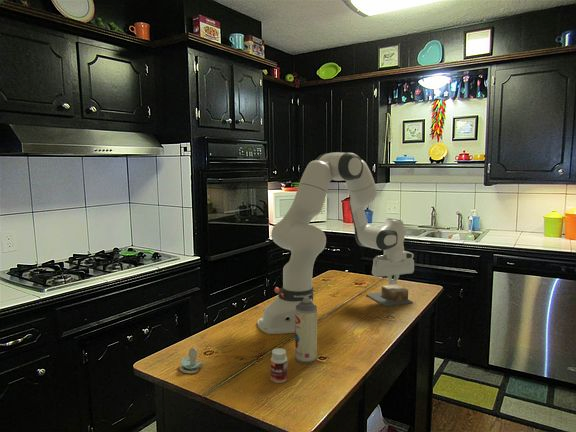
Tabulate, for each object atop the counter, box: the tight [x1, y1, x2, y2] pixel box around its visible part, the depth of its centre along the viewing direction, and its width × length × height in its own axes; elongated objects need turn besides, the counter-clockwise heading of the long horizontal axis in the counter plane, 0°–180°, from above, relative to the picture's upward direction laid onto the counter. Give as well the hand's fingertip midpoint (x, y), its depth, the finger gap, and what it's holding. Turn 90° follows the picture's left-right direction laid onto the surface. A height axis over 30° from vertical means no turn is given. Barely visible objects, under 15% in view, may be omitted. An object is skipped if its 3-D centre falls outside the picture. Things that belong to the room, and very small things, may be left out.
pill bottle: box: [270, 347, 288, 384], centre depth 118 cm, size 5×5×8 cm
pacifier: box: [178, 347, 205, 374], centre depth 124 cm, size 7×6×6 cm
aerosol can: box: [294, 296, 318, 365], centre depth 129 cm, size 7×7×20 cm
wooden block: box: [381, 284, 409, 301], centre depth 188 cm, size 4×9×8 cm
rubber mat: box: [365, 291, 414, 308], centre depth 187 cm, size 14×16×1 cm
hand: (392, 284), depth 187 cm, fingers closed
